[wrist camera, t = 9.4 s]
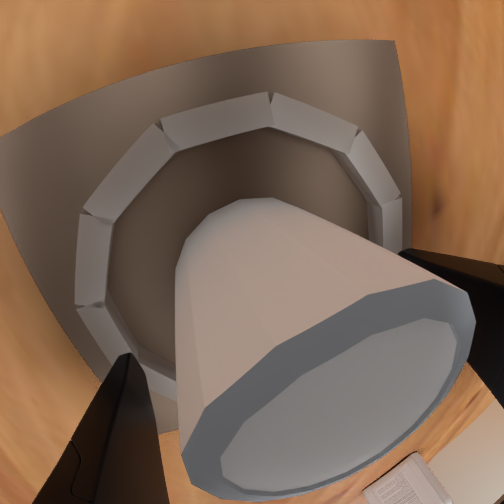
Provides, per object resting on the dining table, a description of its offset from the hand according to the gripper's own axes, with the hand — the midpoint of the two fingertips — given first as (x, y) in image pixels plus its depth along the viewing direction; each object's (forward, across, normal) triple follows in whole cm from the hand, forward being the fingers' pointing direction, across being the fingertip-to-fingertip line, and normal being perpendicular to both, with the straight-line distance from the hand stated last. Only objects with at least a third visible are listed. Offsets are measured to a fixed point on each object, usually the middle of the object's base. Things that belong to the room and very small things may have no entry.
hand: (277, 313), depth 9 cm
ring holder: (+4, 0, 0) cm, 4 cm away
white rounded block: (+4, -12, +41) cm, 43 cm away
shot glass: (+3, 0, 0) cm, 3 cm away
